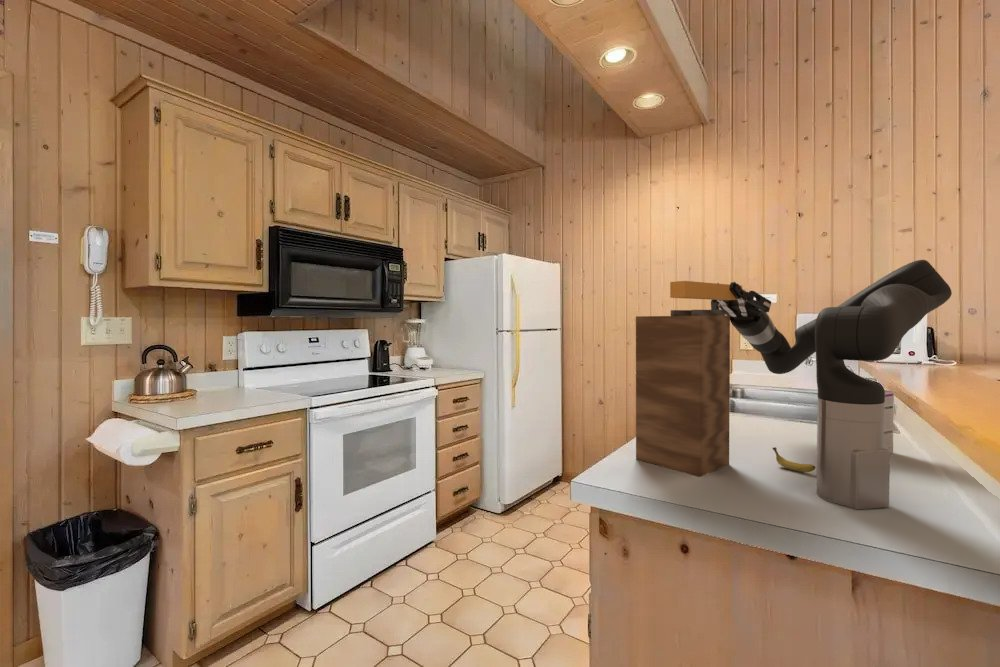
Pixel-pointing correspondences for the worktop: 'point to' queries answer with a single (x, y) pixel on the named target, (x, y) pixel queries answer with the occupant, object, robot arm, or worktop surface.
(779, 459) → the banana
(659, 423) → the walnut stand
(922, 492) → the worktop surface
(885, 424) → the syrup box
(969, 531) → the worktop surface
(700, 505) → the worktop surface
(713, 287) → the orange-brown bar
